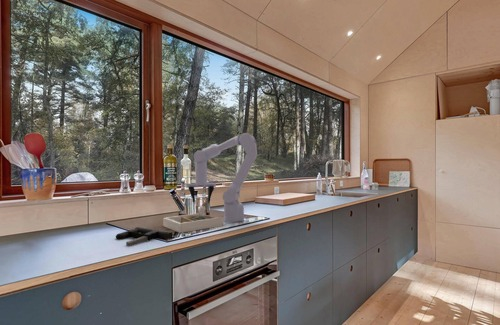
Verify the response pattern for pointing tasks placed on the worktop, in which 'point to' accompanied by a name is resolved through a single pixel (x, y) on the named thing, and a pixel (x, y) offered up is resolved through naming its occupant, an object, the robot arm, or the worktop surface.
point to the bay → (191, 223)
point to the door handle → (143, 235)
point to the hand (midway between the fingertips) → (201, 201)
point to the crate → (194, 218)
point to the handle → (201, 212)
